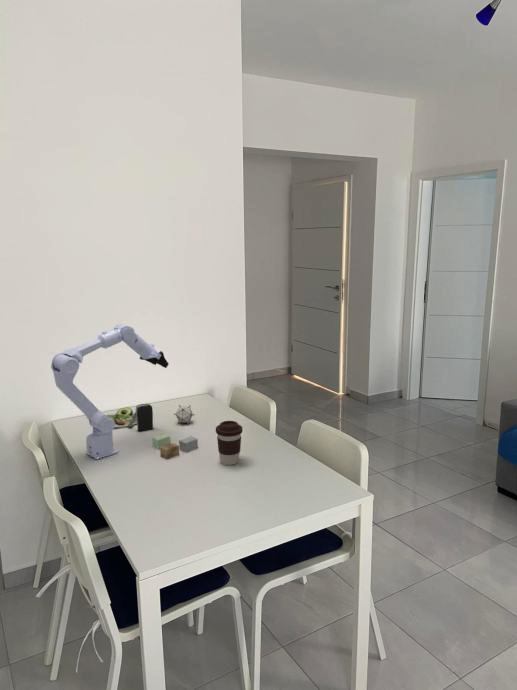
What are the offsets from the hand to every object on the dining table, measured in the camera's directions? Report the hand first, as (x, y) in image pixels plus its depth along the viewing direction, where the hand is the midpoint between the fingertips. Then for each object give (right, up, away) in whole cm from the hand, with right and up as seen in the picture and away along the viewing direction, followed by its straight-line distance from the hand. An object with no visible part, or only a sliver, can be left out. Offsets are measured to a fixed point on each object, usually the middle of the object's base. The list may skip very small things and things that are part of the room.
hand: (161, 364), depth 218 cm
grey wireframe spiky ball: (+7, -27, +20) cm, 34 cm away
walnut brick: (+6, -35, -14) cm, 38 cm away
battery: (-10, -29, +12) cm, 33 cm away
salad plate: (-22, -27, +22) cm, 41 cm away
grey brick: (+12, -33, -8) cm, 37 cm away
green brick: (+1, -33, -5) cm, 33 cm away
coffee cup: (+29, -36, -19) cm, 50 cm away
